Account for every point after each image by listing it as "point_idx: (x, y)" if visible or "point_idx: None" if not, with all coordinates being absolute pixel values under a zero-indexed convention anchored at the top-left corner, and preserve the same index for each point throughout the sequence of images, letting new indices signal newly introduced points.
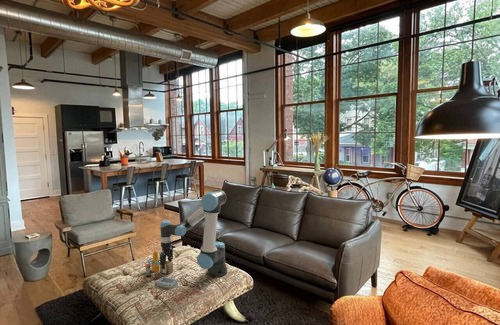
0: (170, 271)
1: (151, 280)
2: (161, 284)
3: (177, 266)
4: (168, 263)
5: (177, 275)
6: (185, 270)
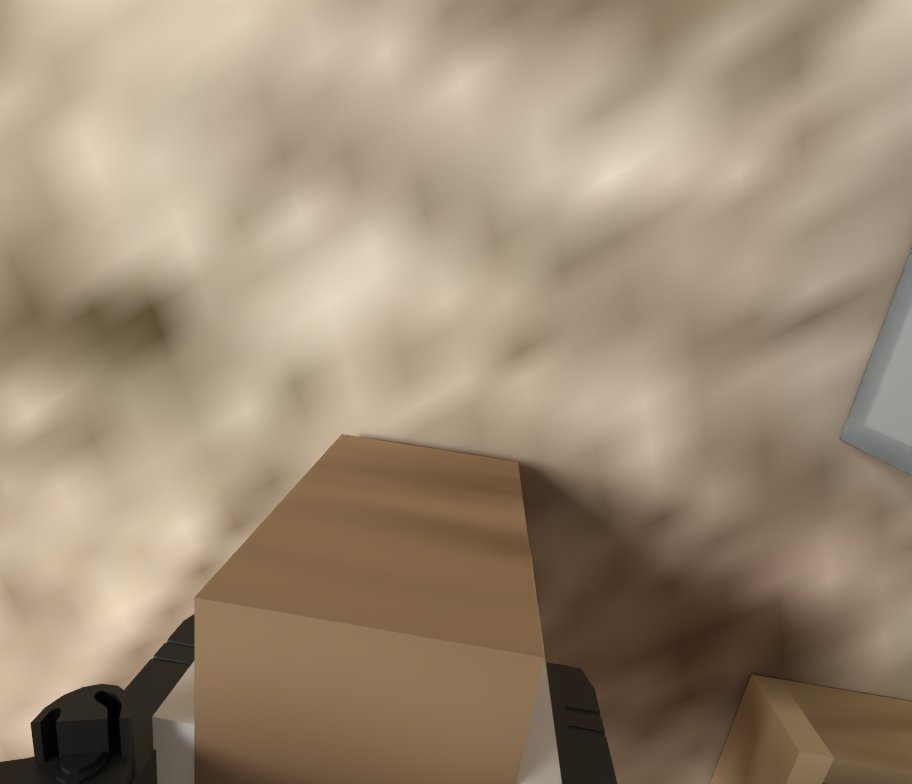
0: (449, 468)
1: (858, 693)
2: None
3: (64, 458)
4: (382, 734)
5: (509, 204)
6: (164, 121)
